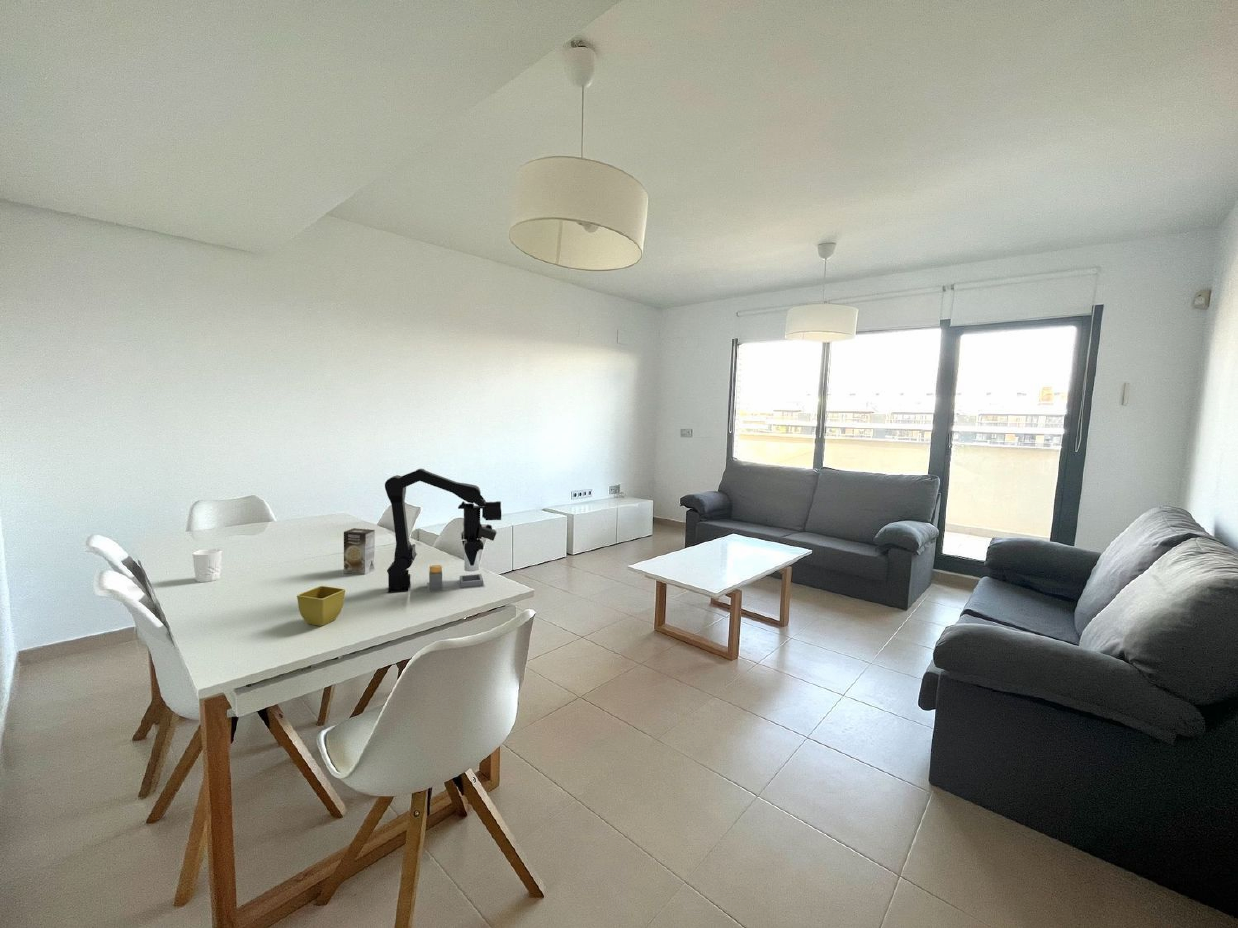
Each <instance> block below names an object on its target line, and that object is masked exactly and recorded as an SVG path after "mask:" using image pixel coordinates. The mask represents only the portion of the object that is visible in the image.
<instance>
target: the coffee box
mask: <svg viewBox="0 0 1238 928" xmlns="http://www.w3.org/2000/svg"><path fill="white" fill-rule="evenodd" d="M375 532H376V531H375V529H368V528H358V527H357V528H356V527H353V528H351V529H348V530H344V531H343V573H345V574H355V575H357V574H358V575H366V574H368V573H371V572H372V571H375V569H376V568H375V564H376V563H375V556H376V555H375V550H376V548H375V547H376V545H375V540H376V539H375V538H376V536H375V535H376V534H375Z"/></svg>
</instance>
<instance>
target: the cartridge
mask: <svg viewBox="0 0 1238 928" xmlns="http://www.w3.org/2000/svg"><path fill="white" fill-rule="evenodd" d="M463 550H464V549H463ZM463 556H464V557H463V559H464V563H463V564H464V566H463V567H464V568H463V569H464V571H465V572H476V571H477V572H478V571H479V570H480V568H479V567H480V550H479V551H478V552H477V555H476V559H475V563H474V565H473V566H471V565H470V563H469V560H468V558H467V555H466V553H465V550H464V555H463Z"/></svg>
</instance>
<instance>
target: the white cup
mask: <svg viewBox="0 0 1238 928" xmlns="http://www.w3.org/2000/svg"><path fill="white" fill-rule="evenodd" d="M192 561H193V568H194V575H195V581H196V582H198V583H208V582H213V581H217V580H219V578H220V579H221V577H222V565H223V563H222V562H223V550H222V549H220V548H209V549H208V548H206V549H201V550H197V551H194V552H192Z"/></svg>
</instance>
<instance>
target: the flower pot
mask: <svg viewBox="0 0 1238 928" xmlns="http://www.w3.org/2000/svg"><path fill="white" fill-rule="evenodd" d="M345 595H346V589H345V588H340V587H333V586H328V585H327V586H326V585H320V586H317V587H315V588H312V589H309V590H307V591H305V592H301V593H299V594H297V595H296V599H297V605H298V606H297V607H298V611H299V613H300V616H301V618H302V619H303V621H304V622H306V623H307V625H313V626H319V627H323V626H325V625H327V624H330V623H331V622H334V621H335V620H336V619H338V616H339V615H340V614H341V611H342V609H343V608H344V607H343V606H344V602H345Z"/></svg>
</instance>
